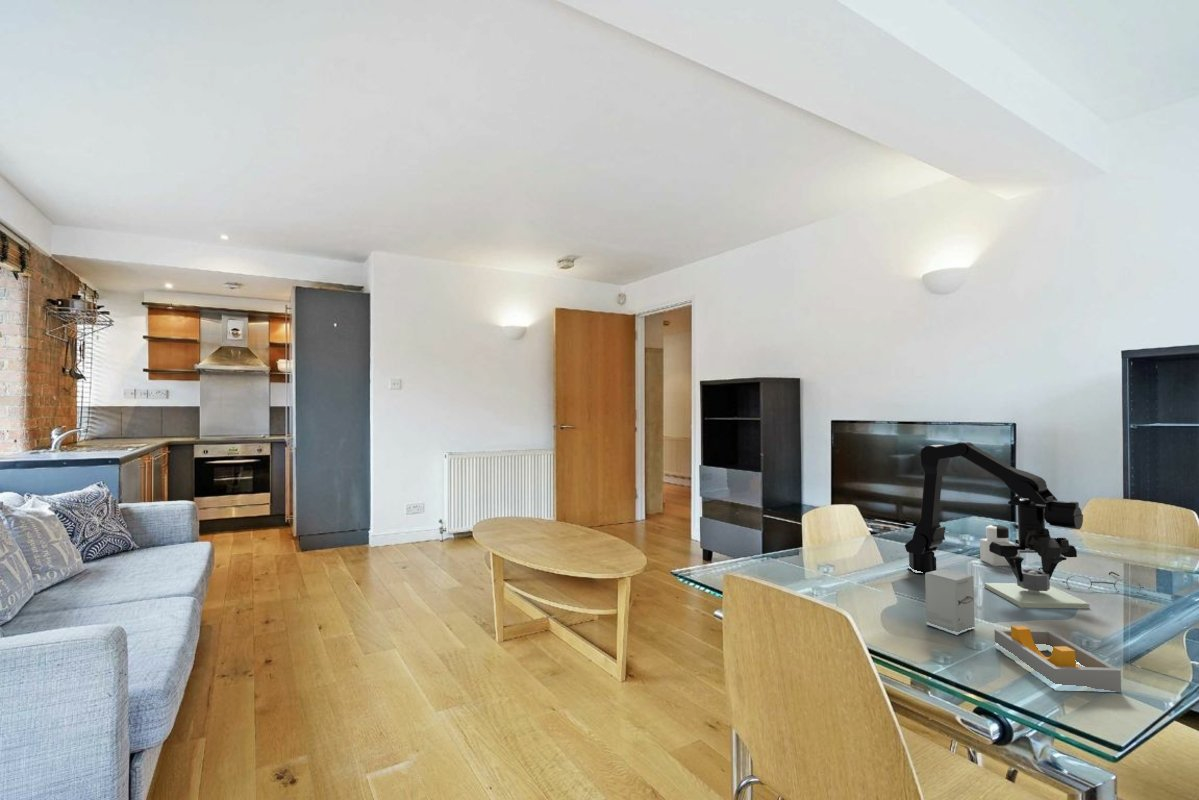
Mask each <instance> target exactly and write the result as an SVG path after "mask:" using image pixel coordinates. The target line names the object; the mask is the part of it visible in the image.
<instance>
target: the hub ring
mask: <svg viewBox="0 0 1199 800" xmlns="http://www.w3.org/2000/svg"><path fill="white" fill-rule="evenodd" d="M1029 571H1035V572H1037V573H1038V574H1030V573H1028V572H1029ZM1050 582H1051V578H1050V579H1049V573H1046V572H1044V571H1043V570H1042V569H1040V570H1038V569H1034V568H1022V582H1019V581H1018V580H1017V579H1016V583H1017V585H1018V586H1020V587H1022V588H1024V589H1029V590H1034V591H1048V590H1049V589H1050V586H1051V585H1050Z"/></svg>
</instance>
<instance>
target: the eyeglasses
mask: <svg viewBox="0 0 1199 800" xmlns="http://www.w3.org/2000/svg"><path fill="white" fill-rule="evenodd" d="M1037 570H1043V569H1042V566H1041V567H1039V568H1038V569H1037ZM1108 573H1109V574H1108V575H1111V574H1113V575H1115V576H1117V577H1120V579H1116V580H1115V581H1114V582H1112V581H1111V582H1110V581H1098V580H1097V581H1095V580H1093V581H1092V580H1091V579H1090V578H1088V577H1086V576H1082V575H1079V577H1080V578H1081V577H1082V578H1086V579H1088V580H1089V582H1090V586H1089V587H1088V588H1086V590H1090V589H1091V588H1092V587H1093V584H1104V585H1105V584H1106V585H1113V587H1114V589H1115V590H1116V591H1117V590H1118V589H1117V587H1116V584H1117V582H1119V581H1121V580H1125V581H1126V580H1127V581H1129V582H1131V583H1132V584H1134V585H1137V586H1139V588H1138V589H1139V590H1138V591H1140V592H1141V591H1142V589H1145V586H1143V585H1141V584H1140V582H1139V581H1136V580H1135V579H1131V578H1125V577H1123V576H1121V575H1120V574H1118V573H1117V572H1114V571H1110V572H1108ZM1052 576H1053V577H1055V578H1056V579H1058V580H1060V581H1061V582H1062V583H1063V584H1065V583H1066V587H1068V588H1069V589H1071V587H1070V586H1069V584H1068V580H1070V578H1074V575H1071V576H1068V577H1067V578H1066V580H1062V579H1060V578H1059V577H1057V576H1056V575H1054V574H1052ZM1133 581H1134V582H1133ZM1135 582H1136V583H1135Z"/></svg>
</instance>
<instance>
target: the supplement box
mask: <svg viewBox="0 0 1199 800" xmlns="http://www.w3.org/2000/svg"><path fill="white" fill-rule="evenodd" d="M924 577H925V579H924V581H925V582H924V583H925V587H924V588H925V619H926V620H925V622H926V621H927V622H929V623H931V624H934V625H937V626H940V627H943V628H946V629H948V630H951V631H955V632H960V631H962V630H965V629H968V628H972V627H975V628H976V626H975V625H976V624H975V619H976V617H975V616H976V615H975V587H974V586H975V585H974V583H975V582H974V575H973V574H968V573H964V572H960V571H957V570H951V569H948V568H947V569H946V568H939V569H936V570H935V571H931V572H927V573H925V574H924Z"/></svg>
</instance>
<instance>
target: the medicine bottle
mask: <svg viewBox="0 0 1199 800" xmlns="http://www.w3.org/2000/svg"><path fill="white" fill-rule="evenodd" d="M1009 530H1010V529H1009V528H1008V527H1006V526H1004V525H1001V524H999V525H998V524H990V525H986V526H985V538H980V539H979V549H980V550H979V552H980V554H979V555H980V560H981V561H982V562H984V563H986V564H988V565H991V566H992V567H1010V565H1009V563H1008V562H1007V560H1006V559H1005V557H1002V556H999V555H997V554H994V553H992V552H990V551H989V545H990V544H991V542H1007V543H1010V544H1012V545H1017V544H1016V542H1015V543H1014V542H1012V541H1010V531H1009Z"/></svg>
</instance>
